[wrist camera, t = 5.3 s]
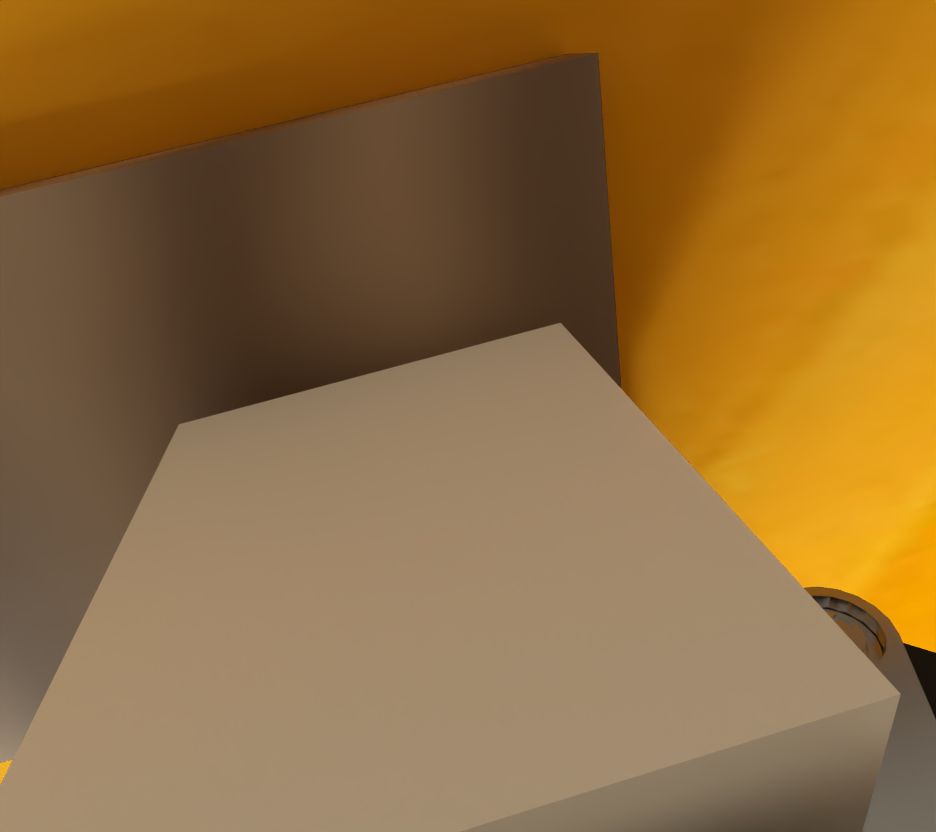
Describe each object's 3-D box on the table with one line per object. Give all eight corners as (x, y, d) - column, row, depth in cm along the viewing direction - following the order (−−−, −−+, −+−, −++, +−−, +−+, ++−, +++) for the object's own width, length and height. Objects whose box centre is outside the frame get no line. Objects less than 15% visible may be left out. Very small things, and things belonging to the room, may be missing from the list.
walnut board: (567, 54, 10) (597, 52, 9) (613, 547, 17) (634, 588, 15) (-1036, 439, 9) (-1258, 499, 8) (-333, 805, 16) (-394, 871, 14)
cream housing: (560, 322, 10) (900, 694, 4) (595, 589, 13) (810, 1018, 7) (178, 424, 9) (-112, 1009, 3) (312, 672, 13) (282, 1197, 7)
